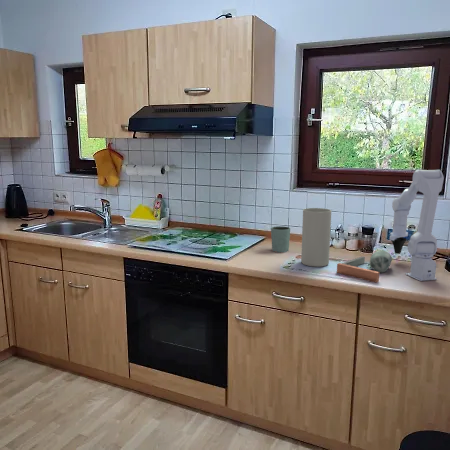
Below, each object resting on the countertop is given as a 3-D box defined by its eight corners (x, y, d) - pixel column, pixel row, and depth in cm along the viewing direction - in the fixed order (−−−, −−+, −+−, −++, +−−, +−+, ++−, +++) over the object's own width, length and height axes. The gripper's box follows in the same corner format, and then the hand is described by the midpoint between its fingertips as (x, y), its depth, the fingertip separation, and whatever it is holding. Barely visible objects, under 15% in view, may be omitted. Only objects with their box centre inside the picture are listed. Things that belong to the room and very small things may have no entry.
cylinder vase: (331, 261, 196) (334, 209, 192) (325, 268, 185) (328, 212, 181) (305, 258, 202) (307, 207, 197) (297, 265, 191) (299, 210, 186)
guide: (361, 262, 195) (362, 254, 194) (401, 271, 181) (402, 262, 181) (334, 272, 180) (335, 263, 179) (376, 282, 166) (377, 273, 166)
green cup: (280, 253, 211) (281, 230, 209) (266, 250, 219) (266, 227, 216) (293, 250, 217) (294, 228, 215) (279, 247, 225) (280, 225, 223)
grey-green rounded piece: (393, 268, 174) (384, 246, 177) (371, 275, 179) (362, 253, 181) (398, 268, 186) (389, 247, 189) (377, 275, 190) (369, 254, 193)
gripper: (398, 221, 200) (396, 249, 203) (384, 225, 190) (381, 254, 193) (413, 223, 195) (410, 251, 197) (399, 227, 185) (396, 257, 188)
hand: (397, 253), depth 195 cm, fingers closed
